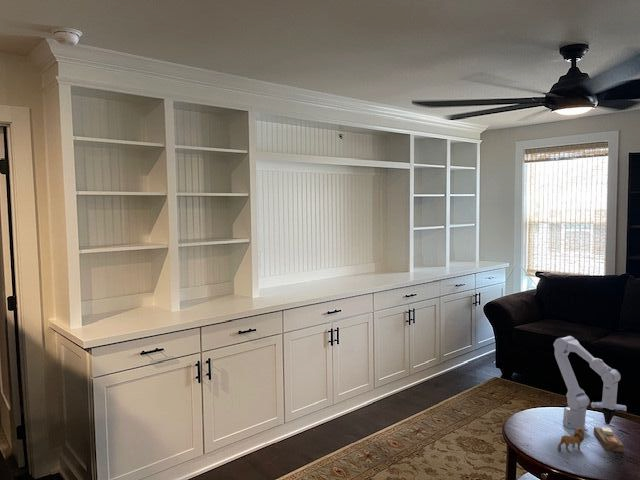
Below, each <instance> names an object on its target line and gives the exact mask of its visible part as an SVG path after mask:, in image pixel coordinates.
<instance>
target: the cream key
mask: <svg viewBox="0 0 640 480" xmlns="http://www.w3.org/2000/svg"><path fill="white" fill-rule="evenodd" d="M599 428H600V431H601V433H602V434H605V435H613V432H614V431H613V429H612V428H611V427H603V426H600V427H599ZM611 429H612V430H611Z"/></svg>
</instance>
